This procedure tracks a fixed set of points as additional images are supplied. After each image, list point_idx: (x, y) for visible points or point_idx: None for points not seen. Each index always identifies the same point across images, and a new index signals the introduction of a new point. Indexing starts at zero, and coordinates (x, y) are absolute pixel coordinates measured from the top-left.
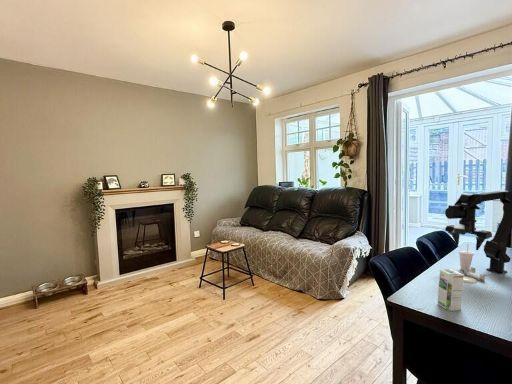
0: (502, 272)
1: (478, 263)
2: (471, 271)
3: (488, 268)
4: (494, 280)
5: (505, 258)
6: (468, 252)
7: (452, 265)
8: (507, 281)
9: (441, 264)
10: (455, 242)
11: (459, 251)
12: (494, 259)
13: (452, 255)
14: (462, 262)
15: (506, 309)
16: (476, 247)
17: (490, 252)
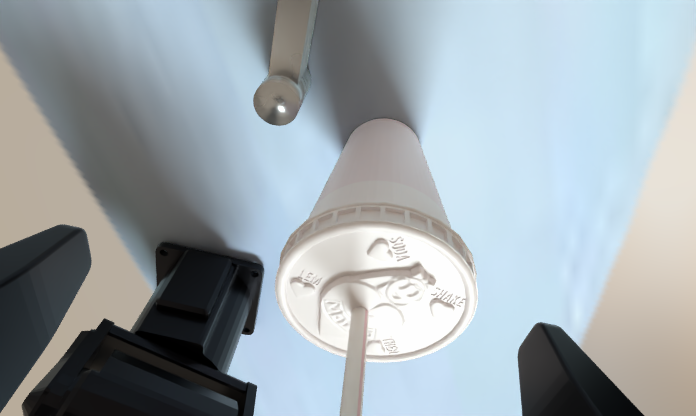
0: (159, 269)
1: None
2: (275, 30)
3: (255, 290)
4: (89, 34)
5: (53, 368)
6: (336, 288)
7: (507, 192)
8: (35, 103)
9: (617, 142)
10: (611, 391)
11: (463, 267)
12: (170, 353)
13: None
14: (401, 155)
15: None
16: (12, 266)
17: (146, 403)
